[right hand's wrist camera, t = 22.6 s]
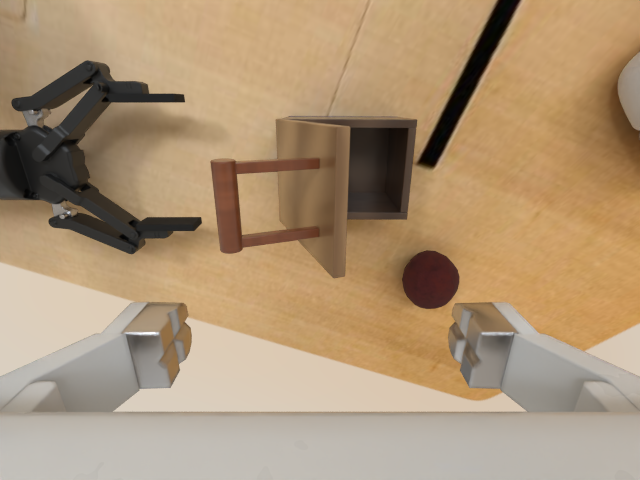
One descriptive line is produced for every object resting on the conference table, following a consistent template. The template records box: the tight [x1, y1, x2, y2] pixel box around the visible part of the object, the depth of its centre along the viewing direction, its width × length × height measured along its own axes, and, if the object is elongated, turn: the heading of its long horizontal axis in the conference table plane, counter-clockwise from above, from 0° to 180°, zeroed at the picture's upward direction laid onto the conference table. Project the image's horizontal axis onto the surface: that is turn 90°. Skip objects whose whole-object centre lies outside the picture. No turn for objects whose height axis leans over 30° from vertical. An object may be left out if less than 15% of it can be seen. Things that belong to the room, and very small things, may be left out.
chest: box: [283, 116, 417, 219], centre depth 39 cm, size 13×10×10 cm
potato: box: [402, 251, 459, 309], centre depth 45 cm, size 7×8×7 cm
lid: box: [211, 119, 350, 278], centre depth 27 cm, size 14×10×8 cm
